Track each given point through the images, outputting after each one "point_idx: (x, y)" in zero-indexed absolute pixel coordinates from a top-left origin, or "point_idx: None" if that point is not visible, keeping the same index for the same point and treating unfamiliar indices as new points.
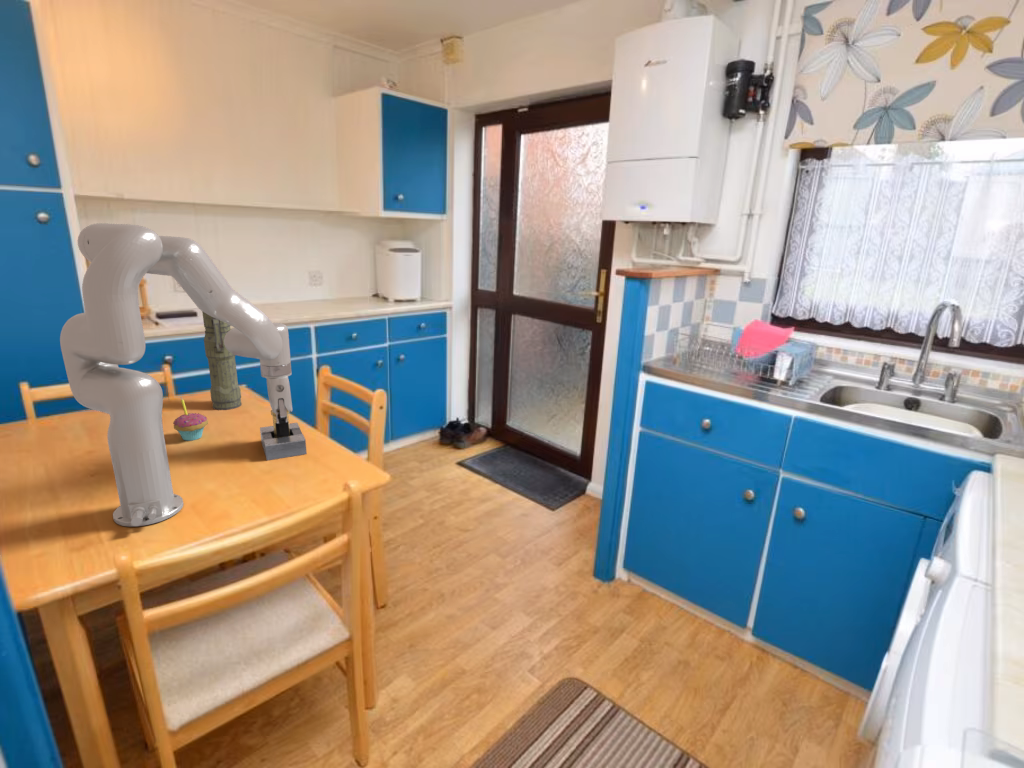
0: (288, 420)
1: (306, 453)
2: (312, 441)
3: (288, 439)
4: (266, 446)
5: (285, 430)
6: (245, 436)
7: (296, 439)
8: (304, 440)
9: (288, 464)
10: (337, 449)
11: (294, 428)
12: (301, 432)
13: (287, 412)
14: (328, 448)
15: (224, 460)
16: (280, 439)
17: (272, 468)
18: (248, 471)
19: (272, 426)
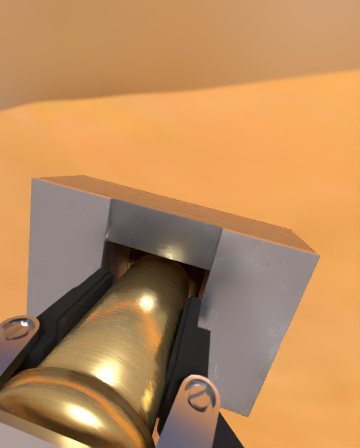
0: (139, 332)
1: (289, 230)
2: (171, 149)
3: (248, 320)
4: (248, 407)
5: (209, 346)
6: (7, 312)
7: (280, 292)
8: (315, 259)
9: (333, 322)
10: (353, 82)
11: (107, 225)
12: (179, 217)
13: (129, 435)
14: (303, 119)
15: (156, 421)
16: (220, 344)
17: (321, 371)
18: (284, 421)
19: (34, 295)
